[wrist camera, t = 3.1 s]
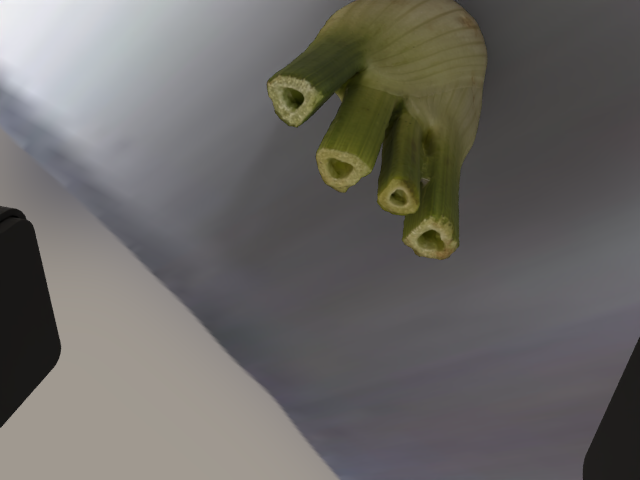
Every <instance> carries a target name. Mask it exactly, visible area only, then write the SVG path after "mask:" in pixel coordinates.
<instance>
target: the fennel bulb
mask: <svg viewBox="0 0 640 480" xmlns="http://www.w3.org/2000/svg"><path fill="white" fill-rule="evenodd" d="M486 66H487V48H486V45H485V42H484V38H483V35H482V33H481V30H480V28H479V26H478V24H477V22H476V21H475V19H474V18H473V17H472V16H471V15H470V14H469V13H468V12H467V11H466V10H465V9H464V8H462V7H461V6H460V5H459V4H458V3H456V2H455V1H453V0H357V1H354V2H352V3H350V4H348V5H346V6H344V7H343V8H341V9H340V10H338V11H336V12H335V13H334V14H333V15H332V16H331V17H330V18H329V20H327V21H326V24H325V25H324V26H323V28H322V29H321V30H320V32H319V34H318V35H317V37H316V38H315V40H314V41H313V42H312V43H311V44H310V45H309V47H308V48H307V49H306V50H305V51H304V52H303V53H302V54H300V55H299V56H298V57H297V58H296V59H294V60H293V61H292V62H291V63H290V64H288V65H287V66H286V67H284V68H283V69H282V70H280V71H278V72H277V73H275V74H274V75H273V76H272V77H271V78H270V79H269V80H268V82H267V90H268V96H269V97H270V98H271V100H272V102H273V106H274V108H275V113H276V114H277V115H278V117H279V118H280V119H281V120H282V121H283V122H284V123H286V124H287V125H288V126H293V127H298V126H300V125H301V124H303V123H304V122H305V121H307V120H308V119H309V118H310V117H311V116H312V115H314V113H315V112H316V111H317V110H318V109H319V108H320V107H321V106H322V105H323V104H324V103H325V102H326V101H327V100H328V99H329V98H330V97H331V96H332V95H333V94H334V93H336V94H337V95H338V96H339V98H340V100H341V102H342V103H341V106H340V107H339V110H338V112H337V114H336V117H335V119H334V120H333V121H332V123H331V125H330V127H329V129H328V131H327V133H326V134H325V136H324V138H323V140H322V142H321V144H320V146H319V148H318V150H317V152H316V160H317V165H318V170H319V172H320V175H321V176H322V179H323V181H324V182H325V184H327V185H328V186H330V187H332V188H333V189H335V190H336V191H338V192H341V193H342V192H343V193H344V192H346V191H347V189H348V188H349V187H350V186H353V185H355V184H356V183H357V182H358V181H359V180H360V179H361V178H362V177H365V176H367V175H368V174H370V173H371V172H372V169H373V167H374V165H375V162H376V159H377V156H378V154H379V151H380V148H381V144H382V143H383V142H384V143H383V149H382V165H381V171H380V176H379V179H378V194H377V196H378V200H377V203H378V204H379V205H380V207H381V208H382V209H383V210H384V211H387V212H390V213H391V214H395V215H401V216H403V215H405V220H404V229H403V238H402V241H403V242H404V244H405V245H407V246H408V247H410V248H412V249H413V250H414V253H415V254H416V255H418V256H419V257H421V256H423V257H427V258H436V259H439V260H444V259H446V258H449V257H450V255H451V254H452V253H453V252H455V251H456V248H458V247H459V206H458V201H459V195H458V191H459V182H460V169H461V166H462V163H463V161H464V159H465V157H466V155H467V154H468V152H469V150H470V149H471V147H472V145H473V143H474V140H475V136H476V133H477V129H478V123H479V118H480V113H481V108H482V93H483V84H484V78H485V72H486Z"/></svg>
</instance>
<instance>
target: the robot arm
mask: <svg viewBox="0 0 640 480" xmlns="http://www.w3.org/2000/svg"><path fill="white" fill-rule="evenodd" d="M60 352H61V344H60V339H59V335H58V330H57V326H56V322H55V318H54V313H53V308H52V304H51V300H50V295H49V291H48V287H47V282H46V278H45V274H44V269H43V265H42V261H41V256H40V252H39V248H38V244H37V239H36V234H35V230H34V227H33V225H32V223H31V222H30V221H28V220H26V217H25V215H24V214H23V213H22V212H21V211H20V210H18V209H14V208H8V207H2V206H0V428H1V427H2V426H3V424H4V423H5V422H6V421H7V420H8V419H9V418H10V417H11V415H12V414H13V413H14V412H15V411H16V410H17V408H18V407H19V406H20V405H21V404H22V403H23V402H24V400H25V399H26V398H27V397H28V396H29V395H30V394H31V393H32V392H33V390H34V389H35V388H36V387H37V386H38V385H39V384H40V383H41V381H42V380H43V379H44V378H45V377H46V376H47V375H48V373H49V372H50V371H51V370H52V369H53V368H54V366H55V365H56V363H57V361H58V359H59V356H60ZM583 480H640V337H639V340H638V342H637V344H636V346H635V348H634V351H633V353H632V355H631V357H630V359H629V361H628V364H627V366H626V368H625V370H624V372H623V375H622V377H621V379H620V381H619V383H618V386H617V388H616V390H615V392H614V394H613V397H612V399H611V401H610V403H609V405H608V408H607V410H606V412H605V414H604V416H603V419H602V421H601V423H600V425H599V427H598V430H597V432H596V434H595V436H594V438H593V441H592V443H591V445H590V447H589V449H588V452H587V454H586V456H585V459H584V464H583Z"/></svg>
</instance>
